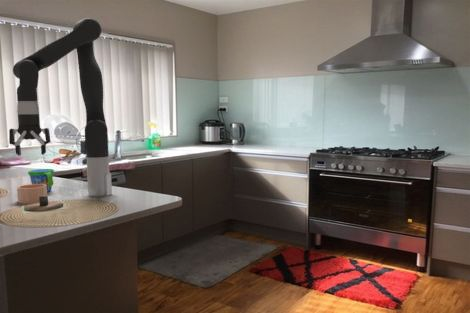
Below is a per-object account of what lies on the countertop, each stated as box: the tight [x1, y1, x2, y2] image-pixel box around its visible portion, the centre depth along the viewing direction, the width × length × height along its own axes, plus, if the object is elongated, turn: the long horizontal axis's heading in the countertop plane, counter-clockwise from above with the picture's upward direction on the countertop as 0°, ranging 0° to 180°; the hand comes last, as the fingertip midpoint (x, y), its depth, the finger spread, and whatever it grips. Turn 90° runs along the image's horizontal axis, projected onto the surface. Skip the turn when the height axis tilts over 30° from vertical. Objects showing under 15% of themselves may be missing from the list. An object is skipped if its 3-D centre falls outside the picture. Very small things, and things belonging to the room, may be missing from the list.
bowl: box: [16, 183, 48, 205], centre depth 171 cm, size 11×11×6 cm
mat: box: [21, 200, 68, 215], centre depth 159 cm, size 15×15×1 cm
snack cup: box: [27, 168, 55, 193], centre depth 192 cm, size 16×10×10 cm
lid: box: [24, 194, 63, 213], centre depth 159 cm, size 14×14×4 cm
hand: (31, 154), depth 162 cm, fingers open, 8 cm apart
